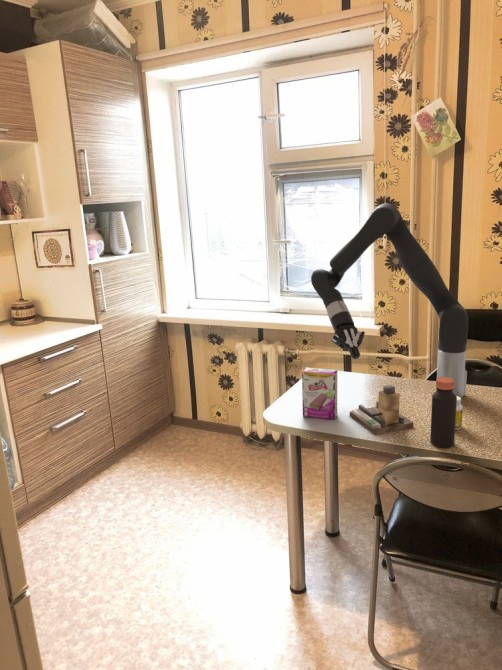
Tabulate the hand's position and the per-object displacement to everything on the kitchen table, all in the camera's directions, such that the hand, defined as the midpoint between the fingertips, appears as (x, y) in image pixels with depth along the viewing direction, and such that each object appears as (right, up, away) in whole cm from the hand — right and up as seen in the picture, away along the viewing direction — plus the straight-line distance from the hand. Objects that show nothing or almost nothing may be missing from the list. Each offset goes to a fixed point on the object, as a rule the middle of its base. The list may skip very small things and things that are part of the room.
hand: (357, 358), depth 191 cm
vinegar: (+20, -24, -26) cm, 41 cm away
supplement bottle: (+27, -21, -16) cm, 38 cm away
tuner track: (+6, -20, -10) cm, 23 cm away
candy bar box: (-13, -20, -3) cm, 24 cm away
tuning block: (+5, -20, -15) cm, 25 cm away
